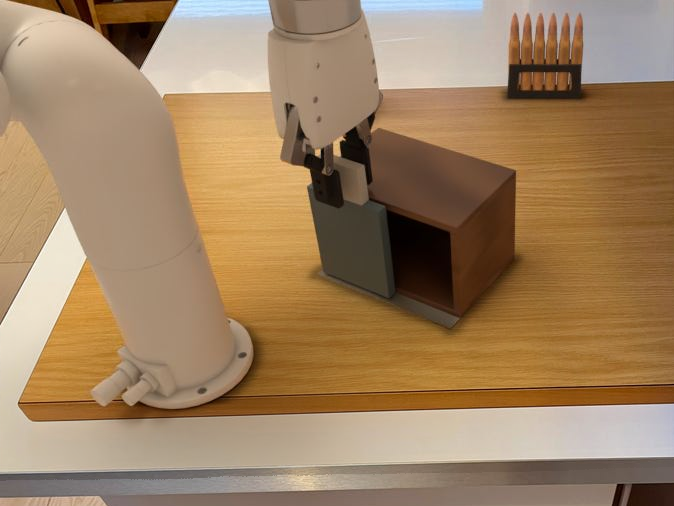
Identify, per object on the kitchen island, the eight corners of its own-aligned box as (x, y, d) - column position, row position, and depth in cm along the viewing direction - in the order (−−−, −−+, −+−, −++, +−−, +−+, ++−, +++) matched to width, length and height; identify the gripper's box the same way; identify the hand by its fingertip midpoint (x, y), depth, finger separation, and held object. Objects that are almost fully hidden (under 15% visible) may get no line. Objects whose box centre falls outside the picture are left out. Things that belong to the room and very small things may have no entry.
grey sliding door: (389, 298, 88) (374, 176, 77) (323, 272, 91) (299, 151, 80) (395, 292, 88) (381, 170, 78) (329, 266, 92) (307, 145, 81)
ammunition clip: (507, 98, 119) (507, 15, 111) (507, 92, 121) (508, 10, 112) (580, 98, 119) (587, 15, 111) (580, 92, 120) (586, 10, 112)
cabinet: (450, 329, 85) (445, 238, 76) (317, 275, 91) (299, 186, 83) (514, 259, 93) (516, 170, 85) (388, 214, 99) (378, 127, 91)
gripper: (341, -36, 75) (364, 143, 88) (211, 32, 65) (258, 223, 78) (409, -21, 72) (422, 162, 85) (284, 53, 62) (320, 248, 75)
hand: (344, 190), depth 81 cm, fingers open, 3 cm apart
